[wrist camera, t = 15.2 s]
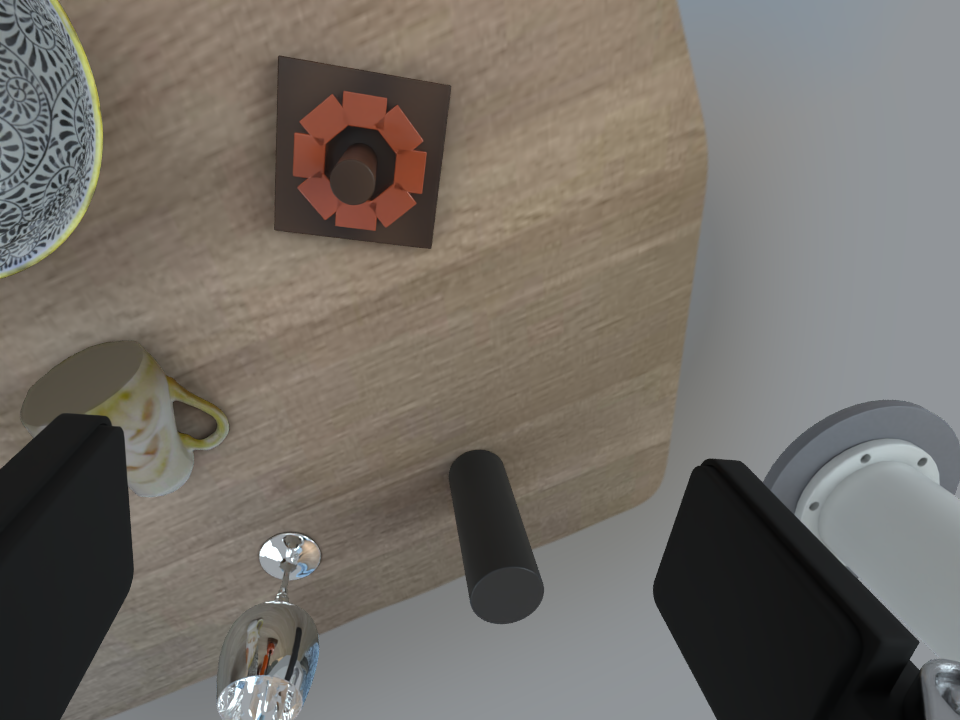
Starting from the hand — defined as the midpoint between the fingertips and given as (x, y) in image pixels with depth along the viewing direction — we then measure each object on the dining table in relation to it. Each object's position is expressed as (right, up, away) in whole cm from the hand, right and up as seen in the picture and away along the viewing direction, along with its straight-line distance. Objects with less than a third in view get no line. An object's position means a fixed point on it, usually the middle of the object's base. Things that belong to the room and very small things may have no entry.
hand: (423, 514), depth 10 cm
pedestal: (+1, -6, +34) cm, 35 cm away
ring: (-6, +14, +23) cm, 27 cm away
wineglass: (-13, -12, +35) cm, 39 cm away
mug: (-20, 0, +28) cm, 35 cm away
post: (-6, +14, +24) cm, 29 cm away
